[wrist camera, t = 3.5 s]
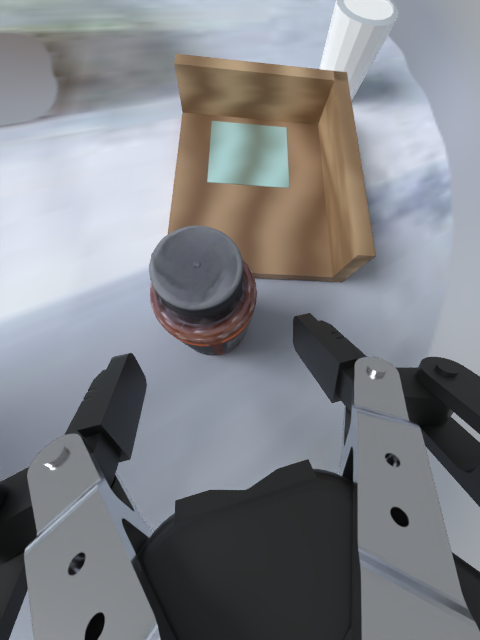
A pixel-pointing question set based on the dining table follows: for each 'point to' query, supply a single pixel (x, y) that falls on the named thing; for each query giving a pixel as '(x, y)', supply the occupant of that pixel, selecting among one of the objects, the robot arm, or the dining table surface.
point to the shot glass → (357, 37)
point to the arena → (272, 166)
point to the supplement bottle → (202, 289)
